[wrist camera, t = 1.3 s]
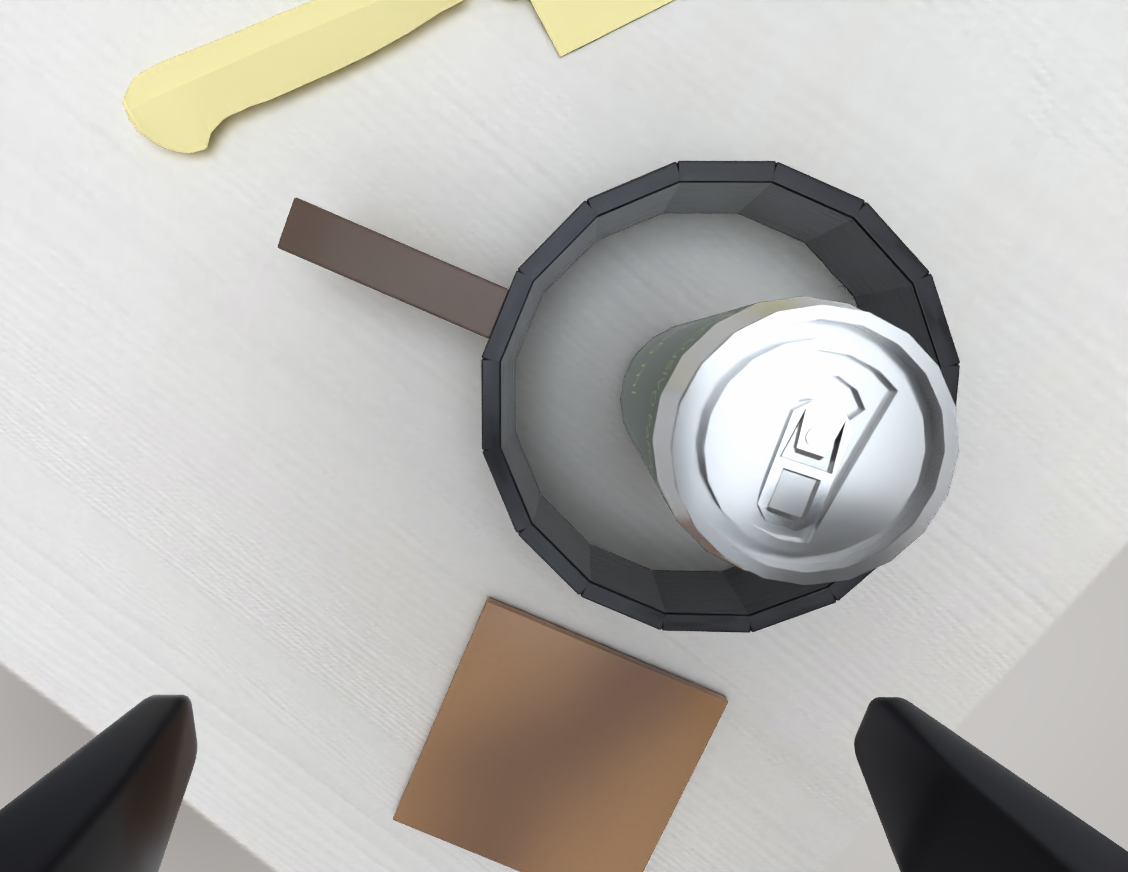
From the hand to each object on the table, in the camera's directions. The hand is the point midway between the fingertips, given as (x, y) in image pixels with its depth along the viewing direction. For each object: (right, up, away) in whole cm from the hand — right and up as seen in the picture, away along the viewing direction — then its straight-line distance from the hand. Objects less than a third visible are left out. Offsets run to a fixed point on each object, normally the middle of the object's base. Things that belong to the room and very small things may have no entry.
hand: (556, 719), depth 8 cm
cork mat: (0, -9, +16) cm, 19 cm away
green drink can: (+5, +5, +15) cm, 16 cm away
